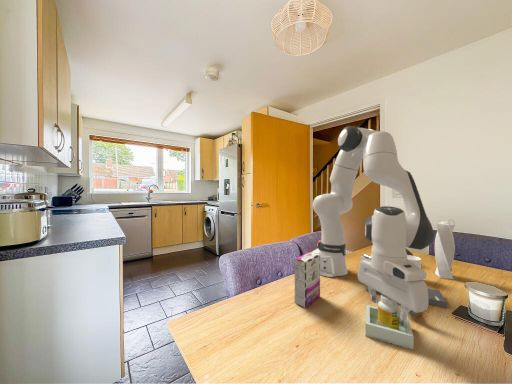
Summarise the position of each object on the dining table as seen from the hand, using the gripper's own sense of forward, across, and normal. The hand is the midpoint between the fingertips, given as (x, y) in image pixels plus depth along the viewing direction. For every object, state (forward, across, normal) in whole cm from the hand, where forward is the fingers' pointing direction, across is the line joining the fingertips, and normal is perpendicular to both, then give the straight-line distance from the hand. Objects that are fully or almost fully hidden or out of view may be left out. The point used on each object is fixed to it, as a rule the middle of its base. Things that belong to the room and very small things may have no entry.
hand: (387, 309), depth 62 cm
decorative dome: (+7, -45, +57) cm, 73 cm away
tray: (+6, 0, 0) cm, 6 cm away
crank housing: (+6, -13, +23) cm, 27 cm away
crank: (+4, -6, +16) cm, 18 cm away
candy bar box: (+6, -22, -14) cm, 27 cm away
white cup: (+6, -25, +42) cm, 49 cm away
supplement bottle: (+6, 0, 0) cm, 6 cm away
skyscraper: (+7, -22, +60) cm, 64 cm away
